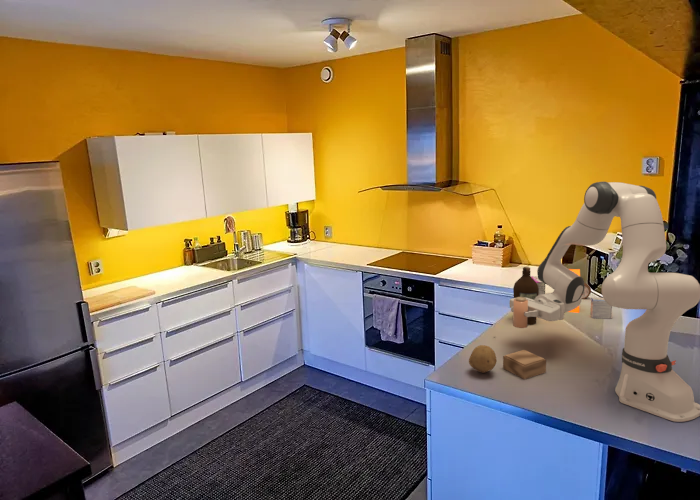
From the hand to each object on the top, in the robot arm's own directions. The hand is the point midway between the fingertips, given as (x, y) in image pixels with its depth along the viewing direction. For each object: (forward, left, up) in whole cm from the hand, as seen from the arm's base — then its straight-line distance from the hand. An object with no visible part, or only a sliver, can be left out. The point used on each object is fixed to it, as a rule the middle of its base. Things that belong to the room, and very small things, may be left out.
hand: (518, 312), depth 176 cm
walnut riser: (-11, +8, -17) cm, 22 cm away
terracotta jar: (0, -1, -5) cm, 6 cm away
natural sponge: (-5, +21, -17) cm, 28 cm away
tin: (+36, -76, -17) cm, 86 cm away
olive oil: (+24, -29, -17) cm, 41 cm away
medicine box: (+10, -61, -17) cm, 64 cm away
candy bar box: (+30, -43, -17) cm, 55 cm away
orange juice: (+25, -58, -17) cm, 66 cm away
